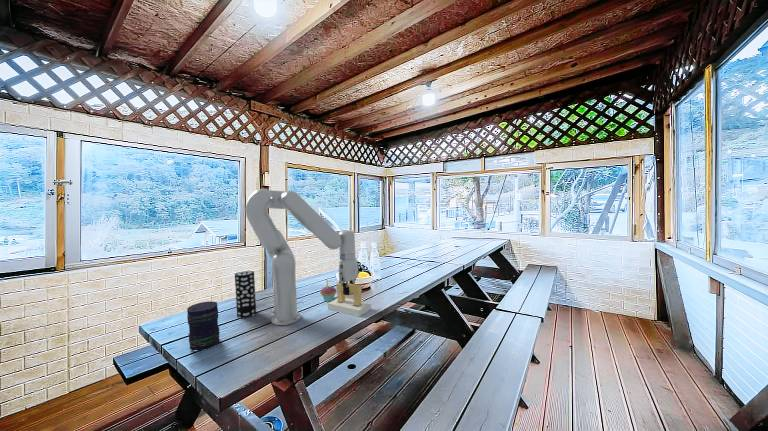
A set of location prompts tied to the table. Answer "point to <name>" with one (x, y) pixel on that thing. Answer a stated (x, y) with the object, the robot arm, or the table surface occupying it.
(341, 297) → the yellow arch block
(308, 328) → the table surface
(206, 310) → the storage jar
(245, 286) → the white-spotted black cylinder
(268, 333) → the table surface
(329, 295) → the cupcake
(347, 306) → the white slab with recess
